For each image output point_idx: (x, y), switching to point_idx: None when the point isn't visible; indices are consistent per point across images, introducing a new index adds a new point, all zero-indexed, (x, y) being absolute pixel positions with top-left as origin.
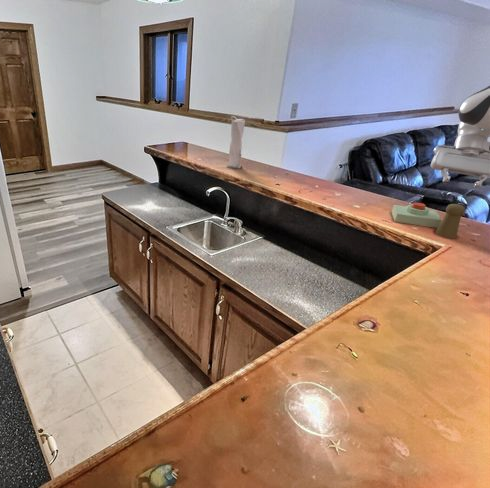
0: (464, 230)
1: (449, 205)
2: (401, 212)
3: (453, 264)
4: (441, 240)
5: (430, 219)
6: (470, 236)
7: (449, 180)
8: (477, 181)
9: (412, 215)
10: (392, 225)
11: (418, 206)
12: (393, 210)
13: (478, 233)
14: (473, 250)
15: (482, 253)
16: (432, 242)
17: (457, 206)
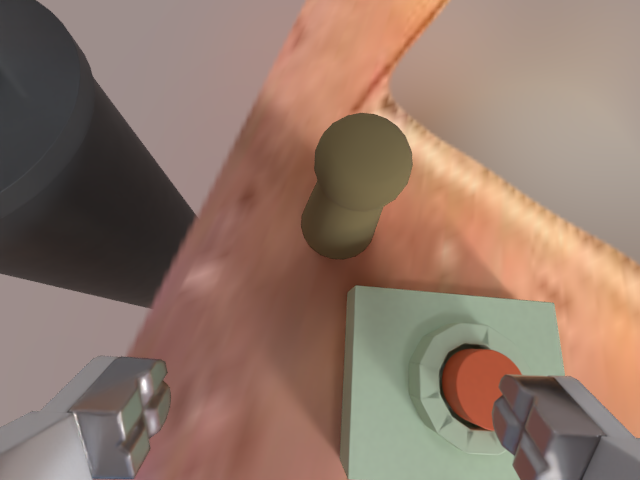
0: (234, 310)
1: (410, 151)
2: (536, 334)
3: (377, 7)
4: None
5: (402, 290)
6: (239, 239)
7: (509, 374)
8: (119, 406)
9: (485, 305)
10: (528, 252)
11: (493, 351)
12: None
13: (183, 293)
14: (285, 107)
15: (265, 92)
16: (402, 131)
17: (375, 123)
